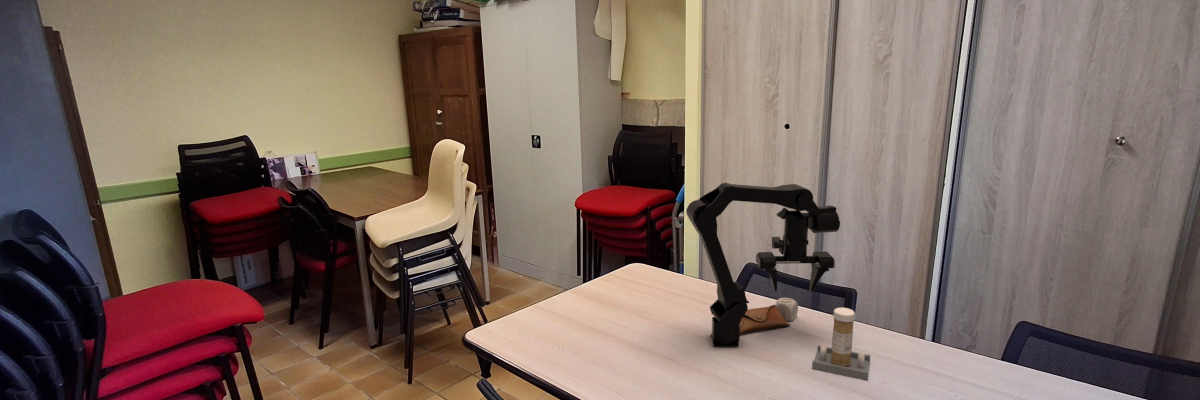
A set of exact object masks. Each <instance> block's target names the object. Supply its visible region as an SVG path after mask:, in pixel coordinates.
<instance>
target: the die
mask: <svg viewBox="0 0 1200 400" xmlns="http://www.w3.org/2000/svg"><path fill="white" fill-rule="evenodd" d="M774 305H775V307H776V308H777V309H778V310H779V312H780V313H781V314H782V316H783V317H784V319H785V320H786V321H787V322H788V321H793V320H795V319H796V317H797V315H798V311H799V304H798V302H797V301H796V300H795V299H793V298H789V297H780V298H778V299H777V300H776V302H775V304H774Z"/></svg>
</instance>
